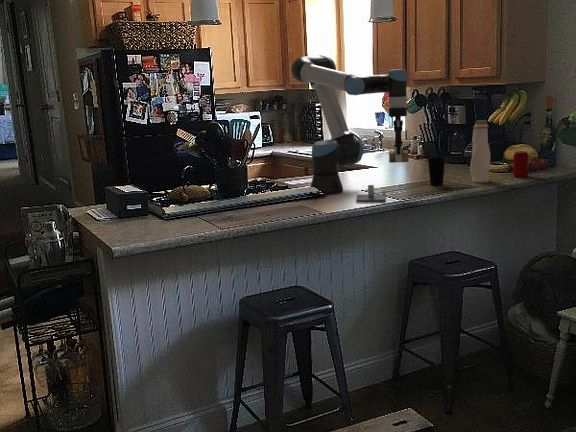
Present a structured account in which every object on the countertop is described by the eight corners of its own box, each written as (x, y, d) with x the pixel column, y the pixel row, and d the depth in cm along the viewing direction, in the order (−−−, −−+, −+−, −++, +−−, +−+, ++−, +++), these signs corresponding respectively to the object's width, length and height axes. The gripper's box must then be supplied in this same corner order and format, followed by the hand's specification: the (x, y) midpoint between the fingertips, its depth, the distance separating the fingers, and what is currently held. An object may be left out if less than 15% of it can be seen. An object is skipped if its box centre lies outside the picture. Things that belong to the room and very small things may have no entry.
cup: (445, 186, 291) (445, 159, 288) (428, 186, 293) (428, 160, 290) (444, 183, 298) (444, 157, 296) (428, 183, 300) (428, 158, 297)
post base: (356, 202, 265) (355, 188, 264) (357, 197, 277) (357, 183, 275) (385, 202, 263) (385, 187, 262) (385, 196, 274) (385, 182, 273)
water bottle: (464, 180, 302) (465, 121, 296) (480, 178, 305) (481, 119, 299) (478, 183, 293) (478, 122, 287) (494, 181, 296) (495, 120, 290)
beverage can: (531, 176, 302) (531, 151, 300) (519, 178, 300) (520, 152, 297) (521, 174, 308) (521, 150, 306) (509, 176, 306) (510, 151, 303)
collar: (389, 162, 270) (389, 153, 269) (389, 160, 278) (389, 151, 277) (408, 162, 269) (408, 152, 268) (408, 159, 276) (407, 150, 275)
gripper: (407, 108, 257) (408, 163, 262) (406, 104, 277) (406, 156, 282) (388, 108, 259) (389, 164, 264) (388, 105, 279) (389, 157, 284)
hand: (398, 160), depth 273 cm, fingers closed on collar, 8 cm apart
